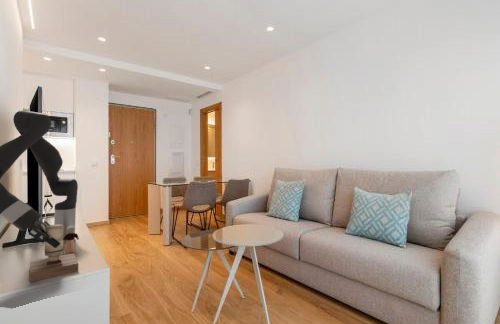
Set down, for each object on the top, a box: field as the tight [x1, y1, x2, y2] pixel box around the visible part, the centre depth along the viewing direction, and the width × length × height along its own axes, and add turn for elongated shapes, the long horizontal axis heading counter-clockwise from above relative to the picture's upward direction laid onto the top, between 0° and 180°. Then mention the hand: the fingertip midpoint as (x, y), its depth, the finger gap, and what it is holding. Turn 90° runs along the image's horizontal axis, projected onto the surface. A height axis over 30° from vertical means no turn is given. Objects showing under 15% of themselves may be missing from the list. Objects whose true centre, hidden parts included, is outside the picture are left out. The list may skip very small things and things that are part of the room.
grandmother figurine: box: [63, 226, 80, 255], centre depth 115 cm, size 8×4×13 cm, turn 168°
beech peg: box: [44, 224, 64, 261], centre depth 96 cm, size 6×6×13 cm
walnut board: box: [29, 253, 79, 283], centre depth 96 cm, size 14×14×3 cm
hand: (60, 243), depth 97 cm, fingers closed on beech peg, 5 cm apart
